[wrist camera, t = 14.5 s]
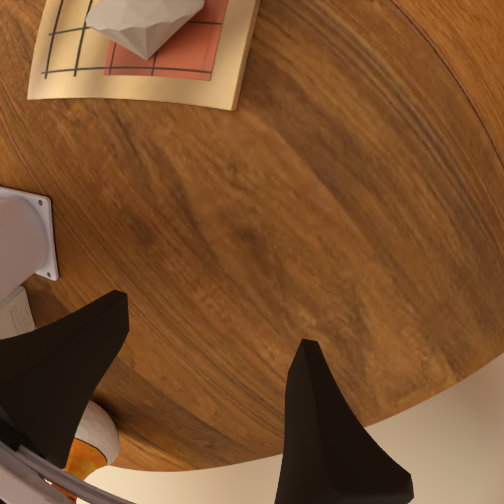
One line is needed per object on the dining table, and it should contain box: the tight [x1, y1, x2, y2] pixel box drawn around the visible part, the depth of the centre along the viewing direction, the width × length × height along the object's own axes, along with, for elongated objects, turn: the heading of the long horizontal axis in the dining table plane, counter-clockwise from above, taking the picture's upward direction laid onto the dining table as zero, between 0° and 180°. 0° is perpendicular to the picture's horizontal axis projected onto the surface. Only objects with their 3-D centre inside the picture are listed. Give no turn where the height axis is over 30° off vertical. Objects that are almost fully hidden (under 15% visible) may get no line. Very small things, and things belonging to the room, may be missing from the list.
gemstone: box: [85, 0, 204, 60], centre depth 12 cm, size 6×6×5 cm
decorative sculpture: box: [0, 400, 120, 504], centre depth 21 cm, size 20×8×30 cm, turn 178°
